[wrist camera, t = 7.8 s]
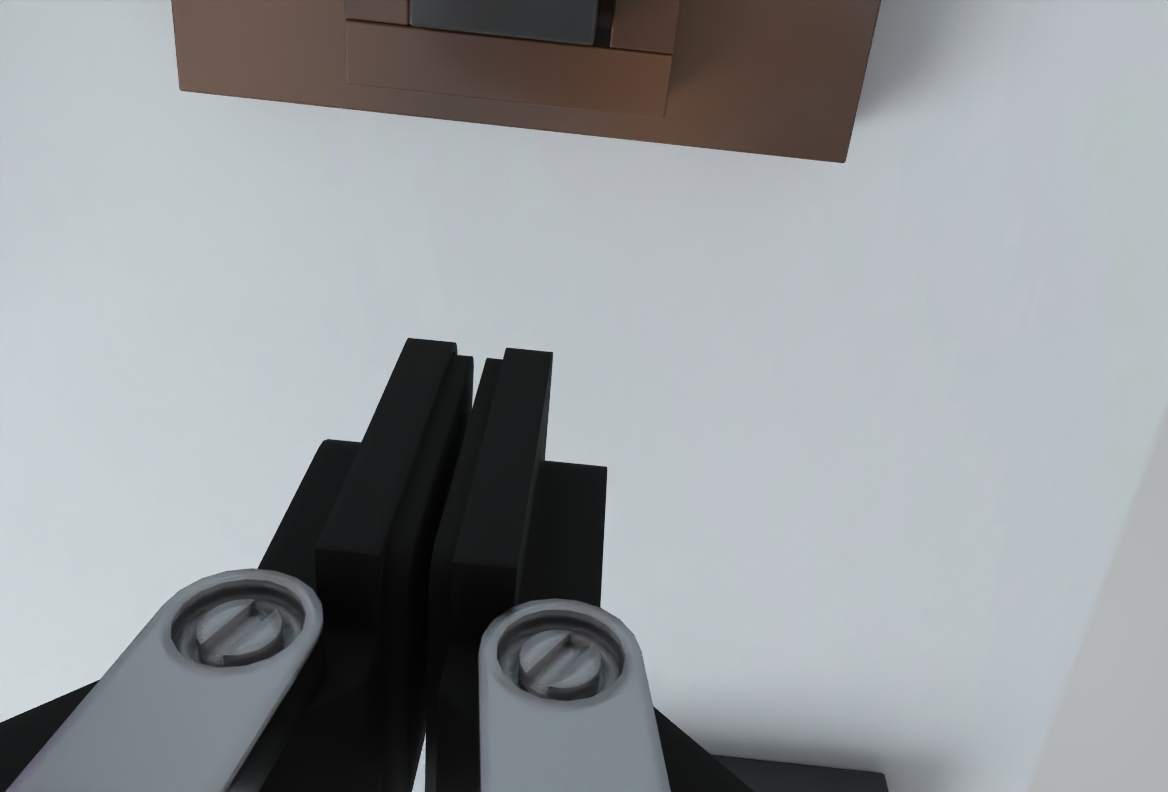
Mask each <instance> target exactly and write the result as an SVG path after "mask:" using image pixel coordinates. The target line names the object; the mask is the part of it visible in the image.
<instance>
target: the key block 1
mask: <svg viewBox="0 0 1168 792" xmlns="http://www.w3.org/2000/svg"><path fill="white" fill-rule="evenodd" d="M171 1H172V12H173V23H174V34H175V45H176V56H177V67H178V77H179V88H180V90H181V91H187V92H196V93H205V94H214V95H224V96H233V97H242V98H251V99H260V100H269V101H279V102H288V103H297V104H306V105H315V106H324V107H334V108H343V109H352V110H361V111H370V112H379V113H388V114H398V115H407V116H416V117H425V118H434V119H443V120H453V121H462V122H471V123H480V124H489V125H498V126H508V127H517V128H526V129H535V130H544V131H553V132H563V133H572V134H581V135H590V136H599V137H608V138H617V139H627V140H636V141H645V142H654V143H663V144H672V145H682V146H691V147H700V148H709V149H718V150H727V151H737V152H746V153H755V154H764V155H773V156H782V157H791V158H801V159H810V160H819V161H828V162H837V163H845V161H846V157H847V153H848V148H849V144H850V139H851V135H852V130H853V126H854V121H855V117H856V112H857V108H858V103H859V99H860V94H861V90H862V85H863V81H864V76H865V72H866V67H867V63H868V58H869V54H870V49H871V45H872V40H873V36H874V31H875V27H876V22H877V18H878V13H879V9H880V4H881V0H600V9H599V19H598V27H597V31H596V36H595V40H594V43H593V44H592V45H582V44H573V43H564V42H555V41H545V40H536V39H527V38H518V37H509V36H500V35H491V34H481V33H472V32H463V31H454V30H445V29H436V28H427V27H417V26H412V25H410V23H409V0H171Z"/></svg>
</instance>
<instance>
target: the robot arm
mask: <svg viewBox="0 0 1168 792" xmlns="http://www.w3.org/2000/svg"><path fill="white" fill-rule="evenodd" d="M552 362H553V352H545V351H535V350H525V349H515V348H506V350H505V354H504V358H503V360H502V359H492V358H487V359H486V362H485V365H484V369H483V372H482V376H481V379H480V383H479V387H478V390H477V394H476V397H475V401H474V404H473V408H472V396H473V370H474V363H473V357H472V356H462V355H457V345H456V343H454V342H444V341H434V340H424V339H413V338H408V339H407V341H406V343H405V345H404V347H403V350H402V352H401V354H400V356H399V359H398V361H397V363H396V365H395V368H394V370H393V372H392V375H391V377H390V379H389V381H388V384H387V386H386V388H385V390H384V393H383V395H382V397H381V399H380V402H379V404H378V406H377V408H376V411H375V413H374V415H373V418H372V420H371V422H370V424H369V427H368V429H367V431H366V433H365V436H364V438H363V440H362V442H351V441H341V440H331V439H327V440H324V441H323V442H322V444H321V445H320V447H319V448H318V450H317V452H316V454H315V456H314V458H313V460H312V462H311V464H310V466H309V468H308V470H307V472H306V474H305V476H304V478H303V480H302V482H301V484H300V486H299V488H298V490H297V492H296V494H295V496H294V498H293V500H292V502H291V504H290V506H289V508H288V510H287V511H286V513H285V515H284V517H283V519H282V521H281V523H280V525H279V527H278V529H277V531H276V533H275V535H274V537H273V539H272V541H271V543H270V545H269V547H268V549H267V551H266V553H265V555H264V557H263V559H262V561H261V563H260V565H259V567H258V569H242V570H233V571H225V572H222V573H219V574H215V575H212V576H208V577H205V578H202V579H200V580H198V581H196V582H194V583H192V584H190V585H189V586H187V587H185V588H183V589H181V590H180V591H178V592H177V593H176V594H175V595H174V596H173V597H172V598H170V599H169V600H168V601H167V602H166V603H165V604H164V605H163V606H162V607H161V608H160V609H159V610H158V612H157V613H156V614H155V615H154V616H153V618H152V619H151V620H150V621H149V622H148V623H147V625H146V626H145V627H144V628H143V629H142V631H141V632H140V633H139V634H138V635H137V637H136V638H135V639H134V640H133V641H132V642H131V644H130V645H129V646H128V647H127V648H126V650H125V651H124V652H123V653H122V654H121V655H120V657H119V658H118V659H117V660H116V661H115V663H114V664H113V665H112V666H111V667H110V668H109V670H108V671H107V672H106V673H105V674H104V676H103V677H102V678H101V679H100V680H98V681H96V682H93V683H91V684H89V685H86V686H84V687H82V688H79V689H77V690H75V691H73V692H70V693H68V694H66V695H63V696H61V697H59V698H56V699H54V700H52V701H49V702H47V703H45V704H43V705H40V706H38V707H36V708H33V709H31V710H29V711H26V712H24V713H22V714H19V715H17V716H15V717H13V718H10V719H8V720H6V721H3V722H1V723H0V792H412V789H413V785H414V780H415V776H416V772H417V768H418V763H419V759H420V755H421V750H422V746H423V742H424V738H425V733H426V764H425V792H754V791H753V790H752V789H751V788H750V787H748V786H747V785H746V784H745V783H744V782H743V781H741V780H740V779H739V778H738V777H737V776H735V775H734V774H733V773H732V772H731V771H729V770H728V769H727V768H726V767H725V766H723V765H722V764H721V763H720V762H719V761H718V760H716V759H715V758H714V757H713V756H712V755H710V754H709V753H708V752H707V751H706V750H704V749H703V748H702V747H701V746H700V745H698V744H697V743H696V742H695V741H694V740H693V739H691V738H690V737H689V736H688V735H687V734H685V733H684V732H683V731H682V730H681V729H679V728H678V727H677V726H676V725H675V724H674V723H672V722H671V721H670V720H669V719H668V718H666V717H665V716H664V715H663V714H662V713H660V712H659V711H658V710H657V709H656V708H654V707H653V704H652V699H651V694H650V690H649V685H648V680H647V675H646V671H645V666H644V661H643V656H642V652H641V650H640V647H639V645H638V643H637V640H636V638H635V636H634V634H633V633H632V632H631V631H630V630H629V629H628V628H627V627H626V625H625V624H624V623H623V622H622V621H621V620H620V619H618V618H617V617H615V616H613V615H612V614H610V613H608V612H607V611H605V610H603V609H602V608H600V601H601V581H602V562H603V543H604V523H605V504H606V484H607V467H604V466H594V465H584V464H574V463H564V462H553V461H545V449H546V437H547V425H548V412H549V400H550V387H551V375H552Z"/></svg>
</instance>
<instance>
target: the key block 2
mask: <svg viewBox="0 0 1168 792" xmlns="http://www.w3.org/2000/svg"><path fill="white" fill-rule="evenodd" d="M713 757H714V758H715V759H716V760H718V761H719V762H720V763H721V764H722V765H723V766H725V767H726V768H727V769H728V770H729V771H731V772H732V773H733V774H734V775H735V776H737V777H738V778H739V779H740V780H741V781H743V782H744V783H745V784H746V785H747V786H748V787H750V788H751V789H752V790H753V791H754V792H888V788H887V784H886V780H885V776H884V774H878V773H869V772H859V771H850V770H841V769H831V768H822V767H813V766H804V765H794V764H785V763H776V762H767V761H757V760H748V759H739V758H730V757H720V756H713Z"/></svg>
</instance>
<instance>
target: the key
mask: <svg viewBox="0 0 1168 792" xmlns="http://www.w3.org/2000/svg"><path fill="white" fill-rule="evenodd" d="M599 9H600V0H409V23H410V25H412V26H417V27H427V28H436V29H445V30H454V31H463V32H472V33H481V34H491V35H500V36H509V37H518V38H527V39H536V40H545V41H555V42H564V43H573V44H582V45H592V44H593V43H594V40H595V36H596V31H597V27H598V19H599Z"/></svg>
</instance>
